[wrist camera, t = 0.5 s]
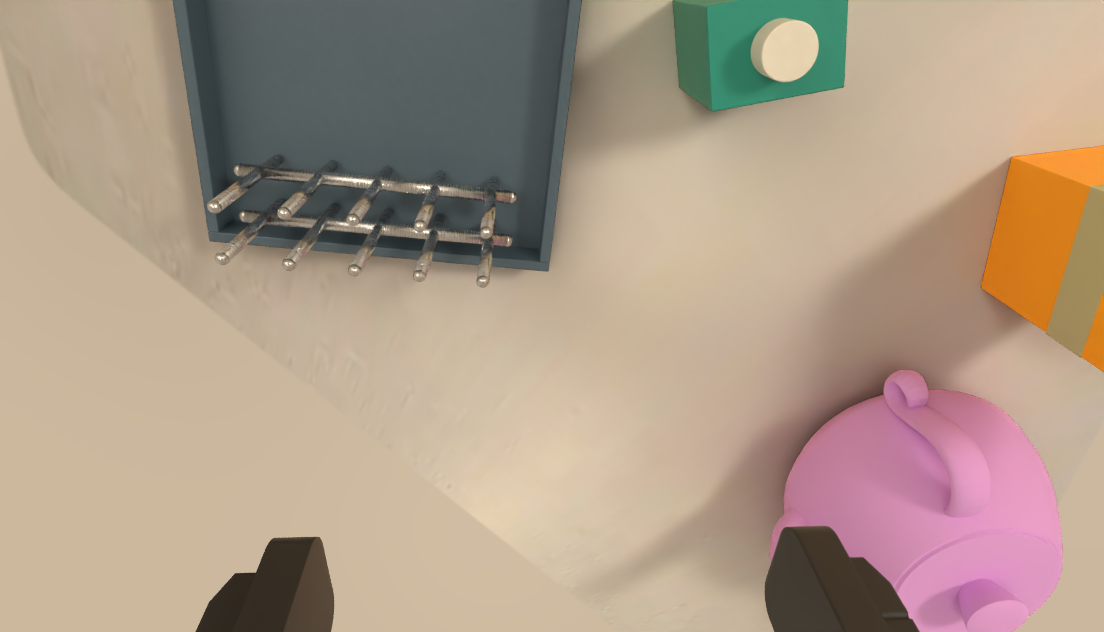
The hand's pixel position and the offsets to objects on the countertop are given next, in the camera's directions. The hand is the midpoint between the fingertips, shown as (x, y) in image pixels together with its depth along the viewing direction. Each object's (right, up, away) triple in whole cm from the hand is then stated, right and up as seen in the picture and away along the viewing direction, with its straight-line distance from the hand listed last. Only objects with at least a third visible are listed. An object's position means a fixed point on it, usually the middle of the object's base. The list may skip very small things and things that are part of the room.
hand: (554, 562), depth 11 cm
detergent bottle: (+10, +19, +23) cm, 31 cm away
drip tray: (-9, +16, +23) cm, 30 cm away
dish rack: (-9, +12, +25) cm, 29 cm away
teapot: (+23, -7, +38) cm, 45 cm away
